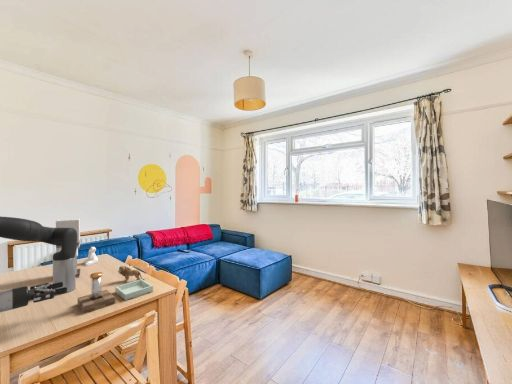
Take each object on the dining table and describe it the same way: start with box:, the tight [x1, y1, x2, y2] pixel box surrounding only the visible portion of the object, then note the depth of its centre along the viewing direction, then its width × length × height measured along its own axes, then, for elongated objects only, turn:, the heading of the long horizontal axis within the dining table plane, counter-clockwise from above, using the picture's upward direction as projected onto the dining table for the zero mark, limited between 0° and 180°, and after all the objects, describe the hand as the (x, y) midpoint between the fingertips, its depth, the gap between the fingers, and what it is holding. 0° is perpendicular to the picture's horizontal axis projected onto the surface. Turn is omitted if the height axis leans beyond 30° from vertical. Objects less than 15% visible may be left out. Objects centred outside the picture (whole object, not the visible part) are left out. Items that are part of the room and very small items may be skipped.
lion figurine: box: [117, 265, 146, 283], centre depth 138 cm, size 15×5×9 cm, turn 94°
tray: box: [114, 278, 154, 301], centre depth 123 cm, size 14×14×3 cm
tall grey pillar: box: [55, 217, 81, 279], centre depth 144 cm, size 11×11×35 cm
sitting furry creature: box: [82, 246, 99, 267], centre depth 169 cm, size 10×9×12 cm
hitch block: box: [77, 289, 116, 314], centre depth 111 cm, size 12×12×3 cm
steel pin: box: [89, 271, 103, 301], centre depth 111 cm, size 5×5×14 cm
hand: (64, 286), depth 102 cm, fingers open, 8 cm apart
